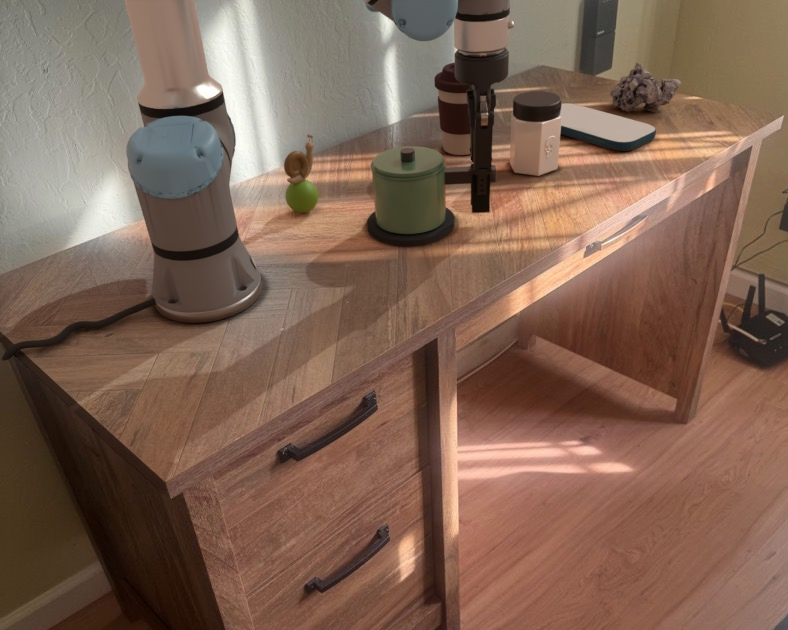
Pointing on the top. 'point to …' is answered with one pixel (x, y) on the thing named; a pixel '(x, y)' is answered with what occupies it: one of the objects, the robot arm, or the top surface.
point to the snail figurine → (300, 180)
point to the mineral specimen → (643, 90)
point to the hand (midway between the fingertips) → (480, 207)
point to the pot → (414, 188)
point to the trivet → (411, 238)
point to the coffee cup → (453, 111)
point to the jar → (535, 132)
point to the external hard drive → (604, 128)
